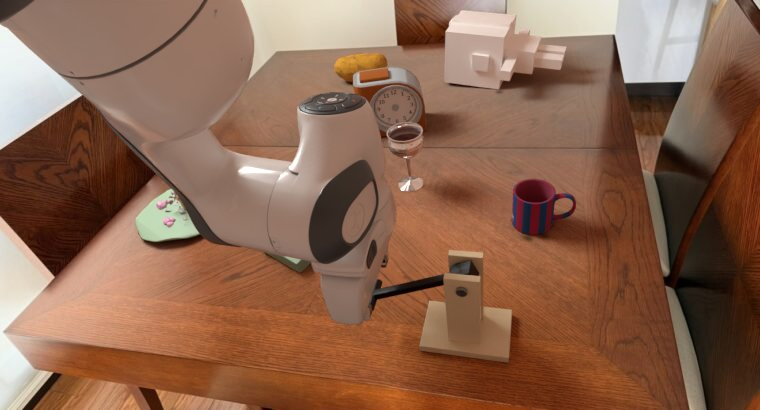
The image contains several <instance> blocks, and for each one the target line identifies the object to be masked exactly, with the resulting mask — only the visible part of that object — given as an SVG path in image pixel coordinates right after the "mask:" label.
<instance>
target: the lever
mask: <svg viewBox="0 0 760 410" xmlns="http://www.w3.org/2000/svg"><path fill="white" fill-rule="evenodd" d="M450 273H451V274H462V275H473V276H479V272H478V270H477V269H476V267H475V266H474V264H473V263H472V261H466V262H462V263H458V264H454V265H451V270H450ZM443 278H444V273H442V274H437V275H432V276H430V277H424V278H419V279H415V280H411V281H407V282H403V283H402V282H401V283H398V284H393V285H389V286H386V287H382V286H383V281H382V280H381V279H378V278H377V280H376V284H375V287H374V290H373V293H372V296H371V299H370V302H369V304H371V306H372V312H374V310H375V308H376V306H377V305H376V304H377V302H378V300H382V299H383V300H384V299H387V298H392V297H396V296H402V295H406V294H410V293H415V292H420V291H424V290H429V289H434V288H439V287H442V286H443V287H444V281H443Z"/></svg>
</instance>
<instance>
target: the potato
mask: <svg viewBox="0 0 760 410" xmlns="http://www.w3.org/2000/svg"><path fill="white" fill-rule="evenodd" d="M388 64H389V63H388V59H387V57H386V56H385V54H383V53H380V52H370V53H362V52H361V53H355V54H354V53H353V54H351V55H343V56H341V57H339V58H338V59H336V61H335V62H334V66H333V69H334V72H335V74H336V75H337V76H338V78H340V79H342V80H344V81H346V82H350V83H353V75H354V74H355V73H357V72H359V71H365V70H372V69H379V68H386V67H388V66H389V65H388Z"/></svg>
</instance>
